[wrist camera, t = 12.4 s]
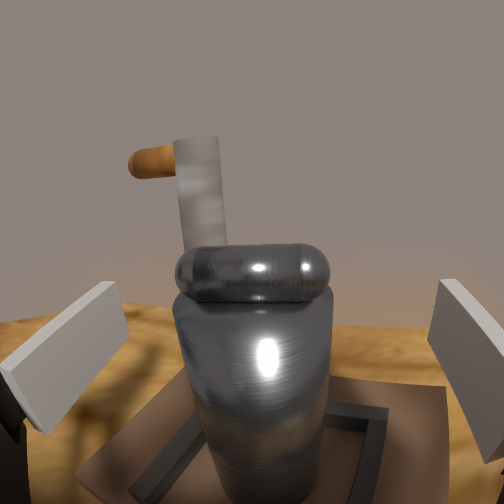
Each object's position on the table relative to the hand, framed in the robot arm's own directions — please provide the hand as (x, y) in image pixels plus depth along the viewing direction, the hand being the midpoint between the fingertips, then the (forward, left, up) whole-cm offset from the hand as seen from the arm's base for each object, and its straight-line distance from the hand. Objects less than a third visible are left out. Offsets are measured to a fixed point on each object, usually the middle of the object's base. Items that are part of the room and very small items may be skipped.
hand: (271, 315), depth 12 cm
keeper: (0, -1, -10) cm, 10 cm away
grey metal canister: (0, -2, -8) cm, 8 cm away
